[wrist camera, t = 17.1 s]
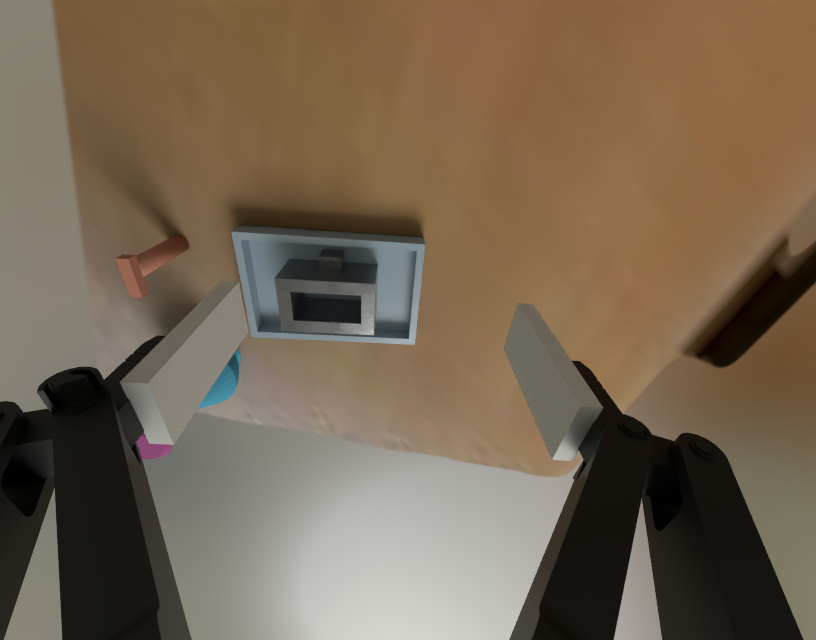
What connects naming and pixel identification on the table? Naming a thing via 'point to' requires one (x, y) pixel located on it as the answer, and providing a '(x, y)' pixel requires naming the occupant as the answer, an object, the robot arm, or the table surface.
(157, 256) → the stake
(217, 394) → the perfume bottle
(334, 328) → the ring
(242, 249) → the tray
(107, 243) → the table surface
